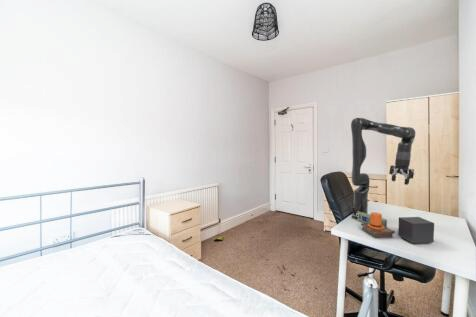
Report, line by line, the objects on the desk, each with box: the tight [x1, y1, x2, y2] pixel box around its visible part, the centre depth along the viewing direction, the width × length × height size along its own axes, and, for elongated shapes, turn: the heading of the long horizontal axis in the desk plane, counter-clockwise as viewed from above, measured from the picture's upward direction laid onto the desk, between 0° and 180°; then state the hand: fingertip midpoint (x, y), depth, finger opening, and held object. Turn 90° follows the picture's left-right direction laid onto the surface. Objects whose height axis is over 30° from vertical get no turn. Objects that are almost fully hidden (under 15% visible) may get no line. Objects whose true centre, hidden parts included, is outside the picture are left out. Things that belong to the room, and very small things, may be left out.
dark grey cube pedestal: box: [398, 216, 435, 245], centre depth 123 cm, size 10×12×12 cm
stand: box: [360, 222, 395, 239], centre depth 134 cm, size 14×12×4 cm
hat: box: [368, 211, 385, 229], centre depth 135 cm, size 9×9×8 cm
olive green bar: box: [351, 211, 388, 228], centre depth 150 cm, size 7×3×25 cm
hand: (399, 182), depth 141 cm, fingers open, 8 cm apart
